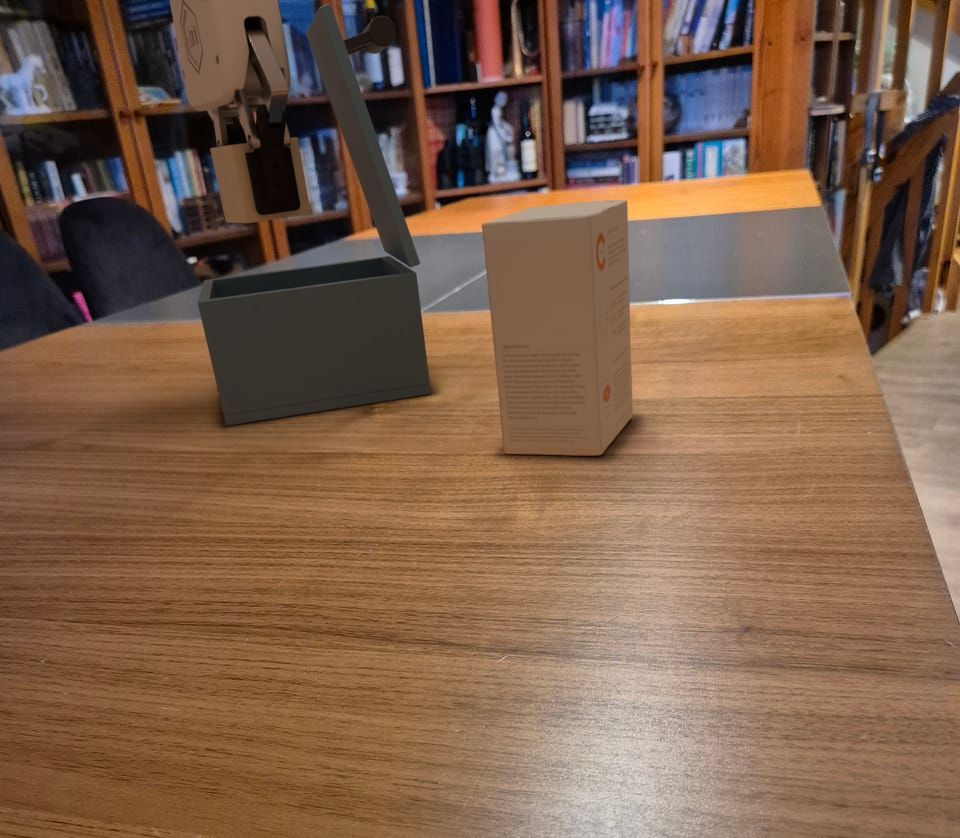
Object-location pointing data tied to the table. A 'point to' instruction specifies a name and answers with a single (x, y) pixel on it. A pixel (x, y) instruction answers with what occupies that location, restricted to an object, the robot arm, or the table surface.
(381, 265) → the cool box
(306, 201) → the block
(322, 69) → the cool box lid
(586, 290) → the small box
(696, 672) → the table surface
